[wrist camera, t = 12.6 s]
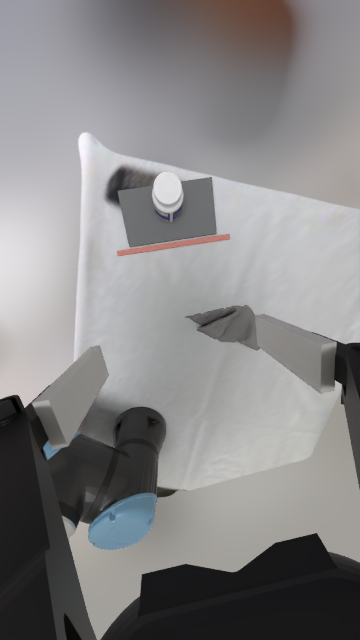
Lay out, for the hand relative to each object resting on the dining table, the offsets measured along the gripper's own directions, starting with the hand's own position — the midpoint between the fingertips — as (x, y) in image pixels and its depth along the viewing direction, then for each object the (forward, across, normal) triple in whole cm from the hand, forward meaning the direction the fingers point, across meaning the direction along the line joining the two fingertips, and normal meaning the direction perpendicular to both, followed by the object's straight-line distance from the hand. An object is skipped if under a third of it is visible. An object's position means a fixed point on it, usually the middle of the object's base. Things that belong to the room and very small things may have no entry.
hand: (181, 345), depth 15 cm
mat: (+30, +3, +19) cm, 36 cm away
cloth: (+31, +15, -10) cm, 36 cm away
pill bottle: (+30, +3, +20) cm, 36 cm away
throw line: (+30, +3, +12) cm, 33 cm away
